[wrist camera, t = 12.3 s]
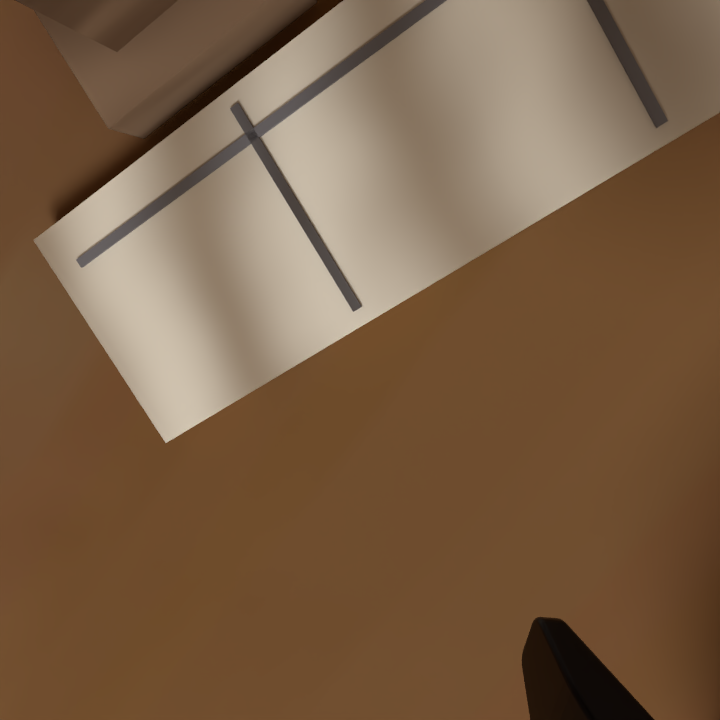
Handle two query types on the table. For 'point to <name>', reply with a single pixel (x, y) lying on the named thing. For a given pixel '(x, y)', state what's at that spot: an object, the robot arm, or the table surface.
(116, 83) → the square column stand
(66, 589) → the table surface
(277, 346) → the ash board
